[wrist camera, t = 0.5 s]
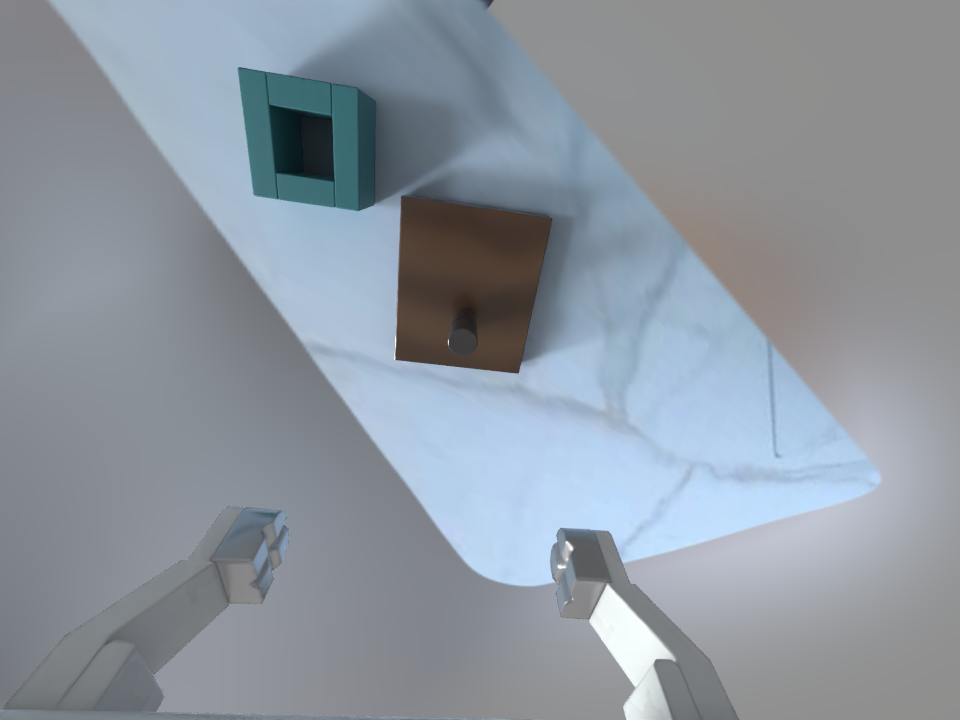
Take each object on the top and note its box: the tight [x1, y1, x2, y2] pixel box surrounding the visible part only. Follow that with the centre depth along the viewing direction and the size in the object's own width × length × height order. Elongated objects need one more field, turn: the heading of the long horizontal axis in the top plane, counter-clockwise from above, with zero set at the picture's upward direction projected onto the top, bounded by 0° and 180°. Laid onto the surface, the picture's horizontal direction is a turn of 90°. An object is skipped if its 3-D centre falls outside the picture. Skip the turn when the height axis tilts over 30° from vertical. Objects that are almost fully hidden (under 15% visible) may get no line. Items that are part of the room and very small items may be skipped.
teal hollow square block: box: [238, 67, 375, 211], centre depth 22 cm, size 6×6×4 cm
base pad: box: [395, 194, 552, 373], centre depth 26 cm, size 12×10×6 cm
